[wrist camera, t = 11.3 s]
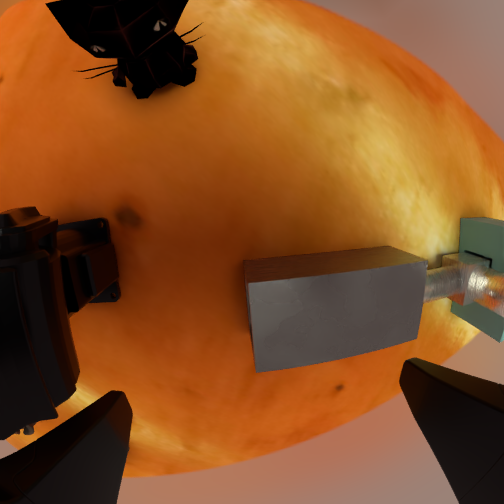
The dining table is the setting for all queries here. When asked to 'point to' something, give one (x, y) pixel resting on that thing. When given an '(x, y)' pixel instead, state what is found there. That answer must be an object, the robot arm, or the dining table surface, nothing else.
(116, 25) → the cat figurine
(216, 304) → the dining table surface
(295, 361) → the grey rectangular box
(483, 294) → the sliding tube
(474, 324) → the teal block
